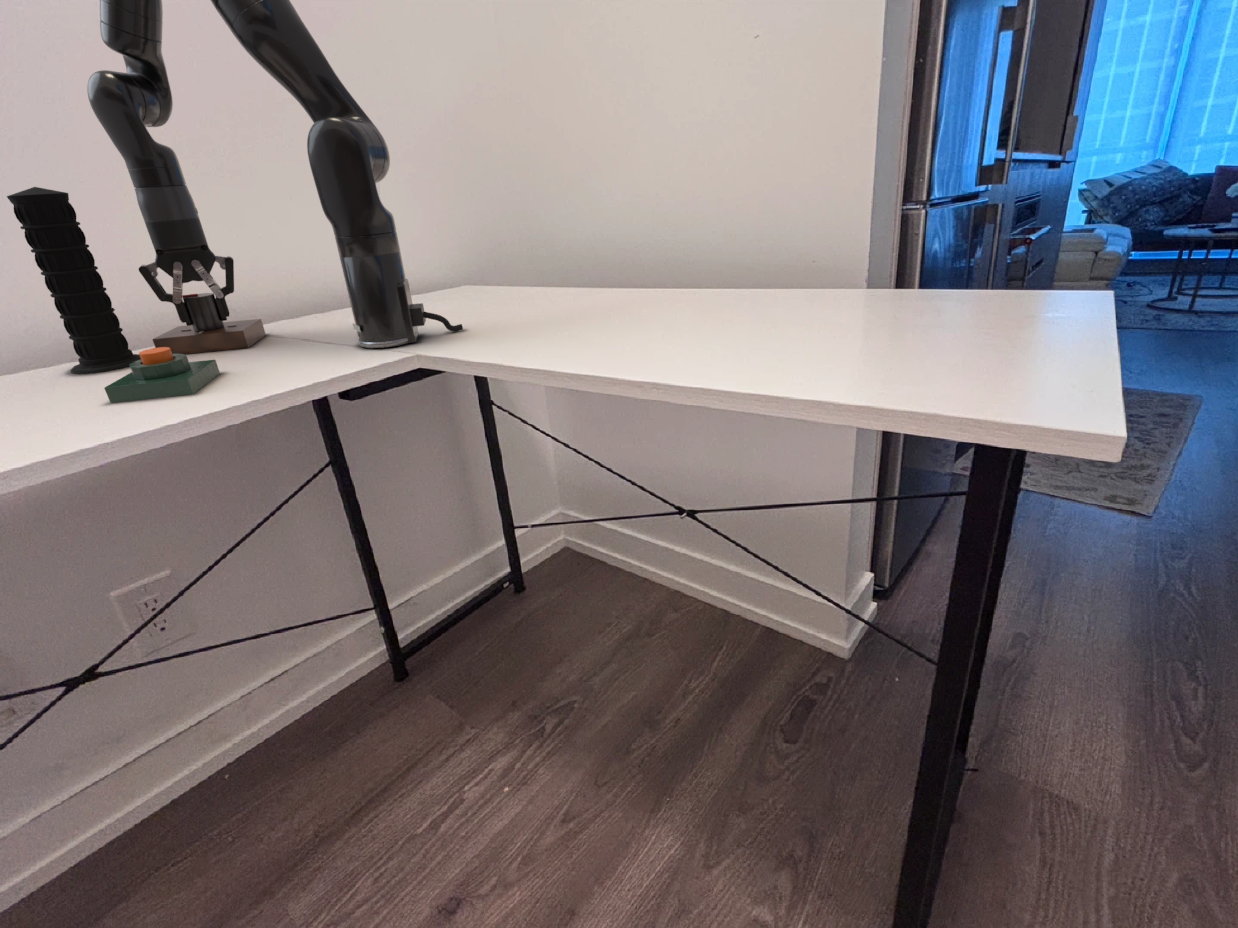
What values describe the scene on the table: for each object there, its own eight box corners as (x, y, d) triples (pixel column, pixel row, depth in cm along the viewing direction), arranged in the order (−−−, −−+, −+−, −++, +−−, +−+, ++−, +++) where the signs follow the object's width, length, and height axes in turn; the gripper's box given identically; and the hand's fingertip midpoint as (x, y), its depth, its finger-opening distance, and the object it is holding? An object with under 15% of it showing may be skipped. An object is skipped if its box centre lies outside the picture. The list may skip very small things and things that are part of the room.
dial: (224, 323, 111) (213, 290, 109) (223, 328, 107) (212, 293, 105) (195, 327, 109) (183, 293, 107) (192, 332, 106) (180, 297, 103)
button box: (220, 373, 92) (211, 347, 91) (193, 394, 83) (182, 365, 82) (146, 381, 91) (135, 354, 89) (110, 403, 82) (98, 374, 80)
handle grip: (54, 374, 97) (106, 375, 95) (-32, 190, 86) (25, 186, 84) (112, 356, 106) (161, 356, 104) (42, 187, 94) (95, 183, 92)
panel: (266, 334, 115) (260, 317, 114) (248, 348, 106) (242, 329, 105) (183, 342, 113) (177, 325, 112) (158, 356, 104) (151, 338, 103)
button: (179, 358, 87) (174, 345, 87) (167, 364, 84) (163, 352, 83) (150, 360, 87) (146, 348, 86) (138, 367, 84) (133, 355, 83)
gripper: (114, 222, 94) (156, 333, 102) (221, 214, 101) (254, 319, 108) (121, 220, 100) (160, 325, 108) (221, 212, 107) (252, 312, 114)
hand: (207, 321), depth 108 cm, fingers closed on dial, 4 cm apart
